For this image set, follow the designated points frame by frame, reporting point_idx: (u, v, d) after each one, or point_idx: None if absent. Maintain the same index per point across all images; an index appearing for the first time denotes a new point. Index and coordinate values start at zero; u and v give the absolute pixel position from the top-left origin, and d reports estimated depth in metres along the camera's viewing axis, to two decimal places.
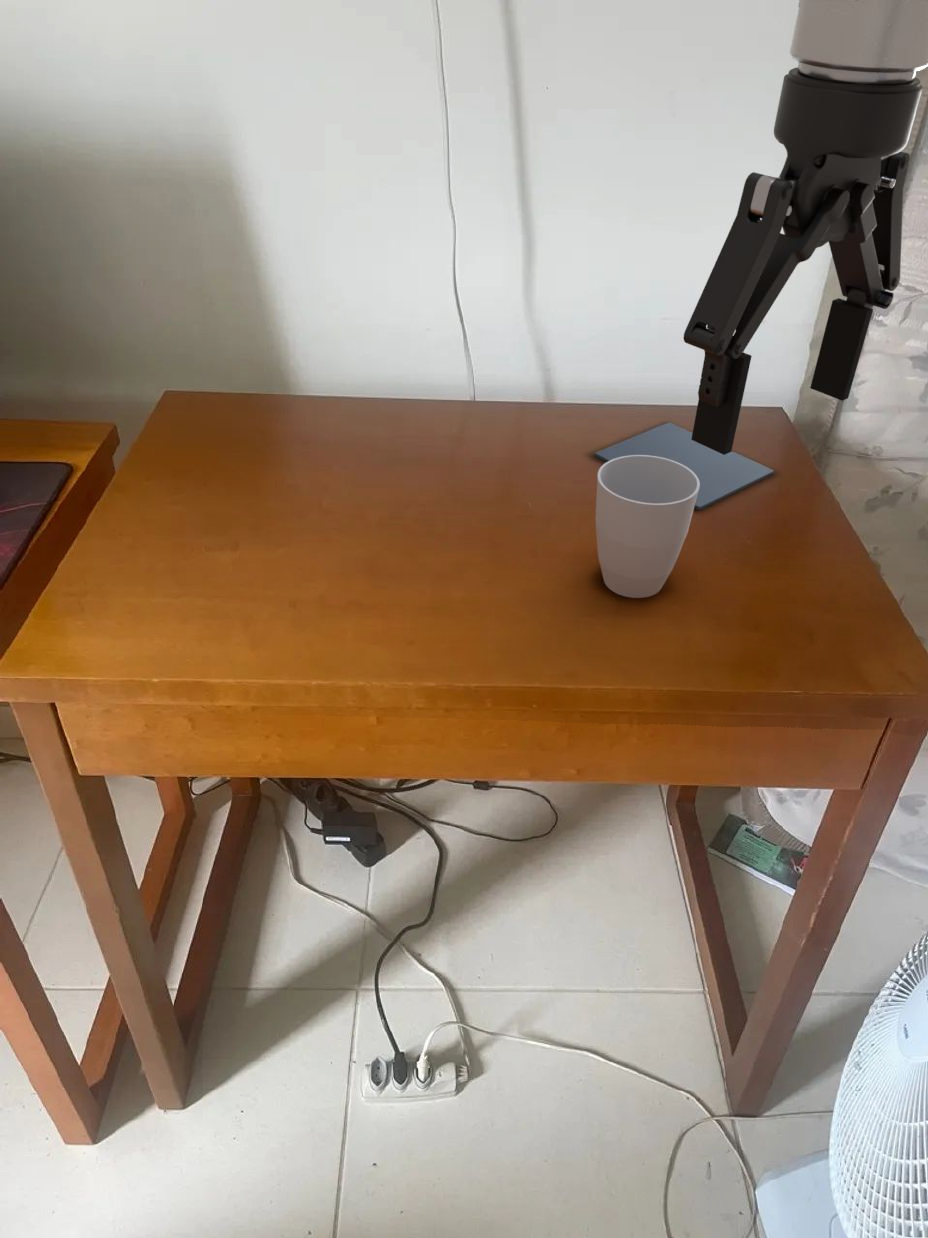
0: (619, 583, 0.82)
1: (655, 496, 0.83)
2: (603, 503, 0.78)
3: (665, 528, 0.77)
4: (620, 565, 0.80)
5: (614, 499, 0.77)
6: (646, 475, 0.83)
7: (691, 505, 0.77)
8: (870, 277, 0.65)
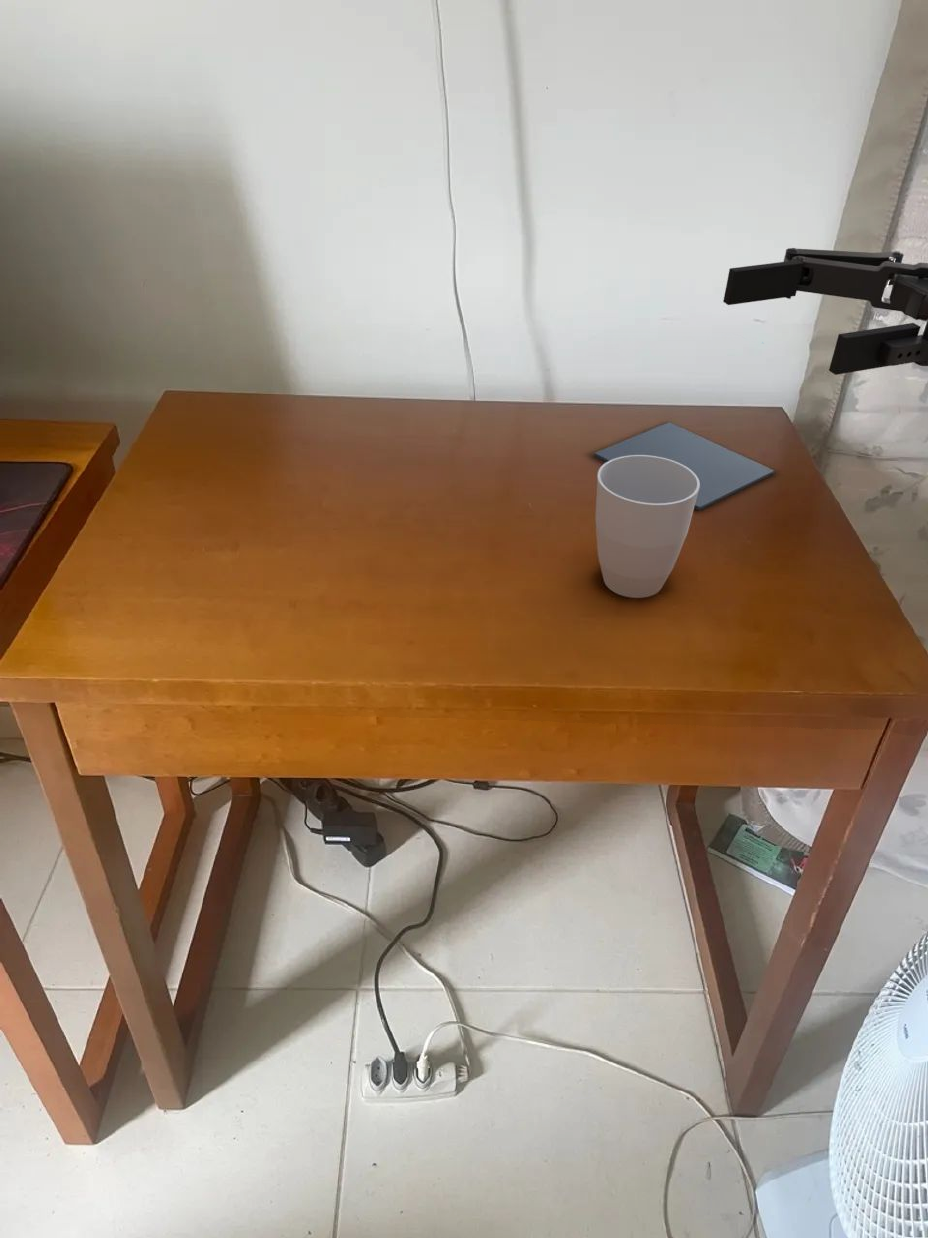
0: (619, 583, 0.82)
1: (655, 496, 0.83)
2: (603, 503, 0.78)
3: (665, 528, 0.77)
4: (620, 565, 0.80)
5: (614, 499, 0.77)
6: (646, 475, 0.83)
7: (691, 505, 0.77)
8: None
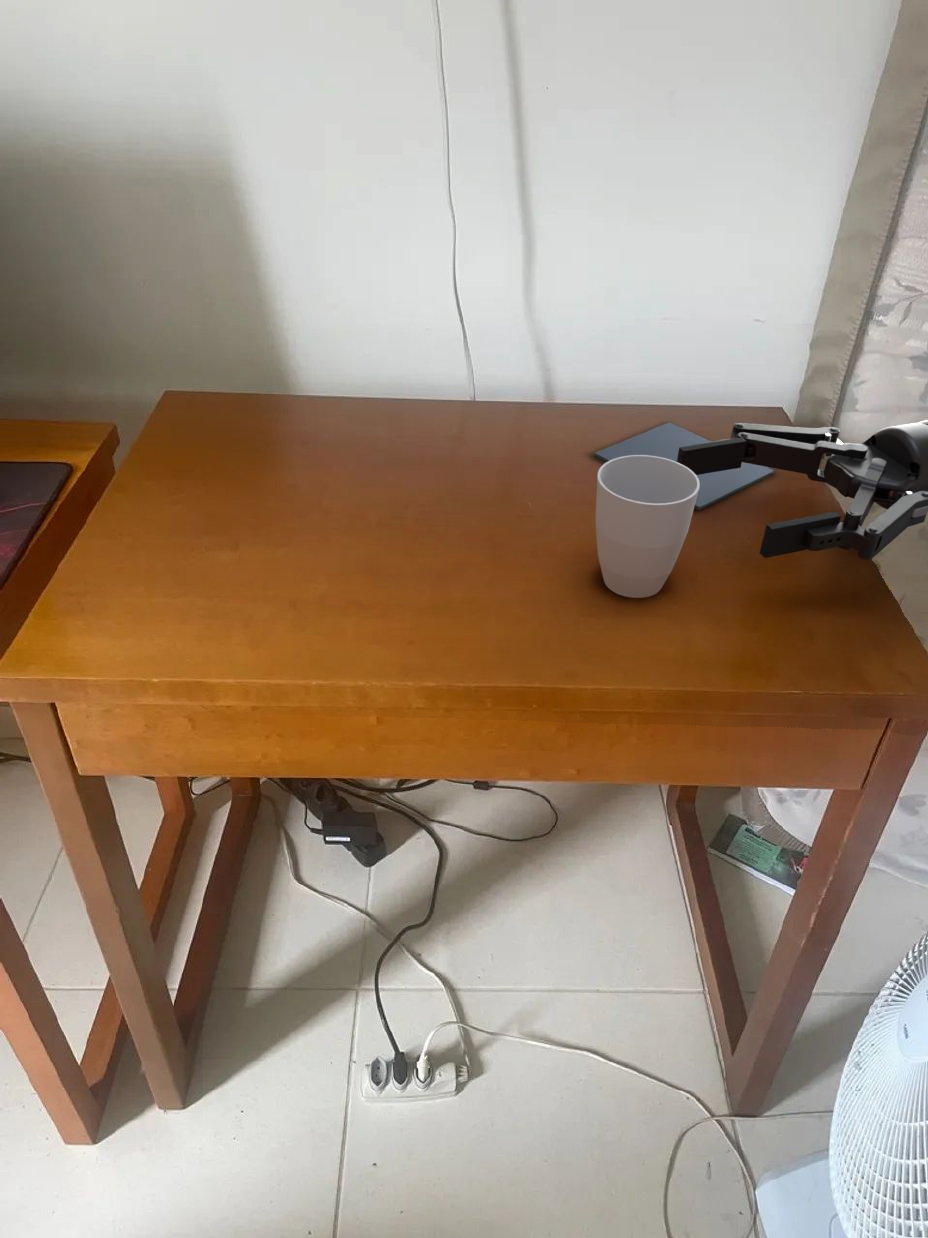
0: (619, 583, 0.82)
1: (655, 496, 0.83)
2: (603, 503, 0.78)
3: (665, 528, 0.77)
4: (620, 565, 0.80)
5: (614, 499, 0.77)
6: (646, 475, 0.83)
7: (691, 505, 0.77)
8: (854, 505, 0.80)
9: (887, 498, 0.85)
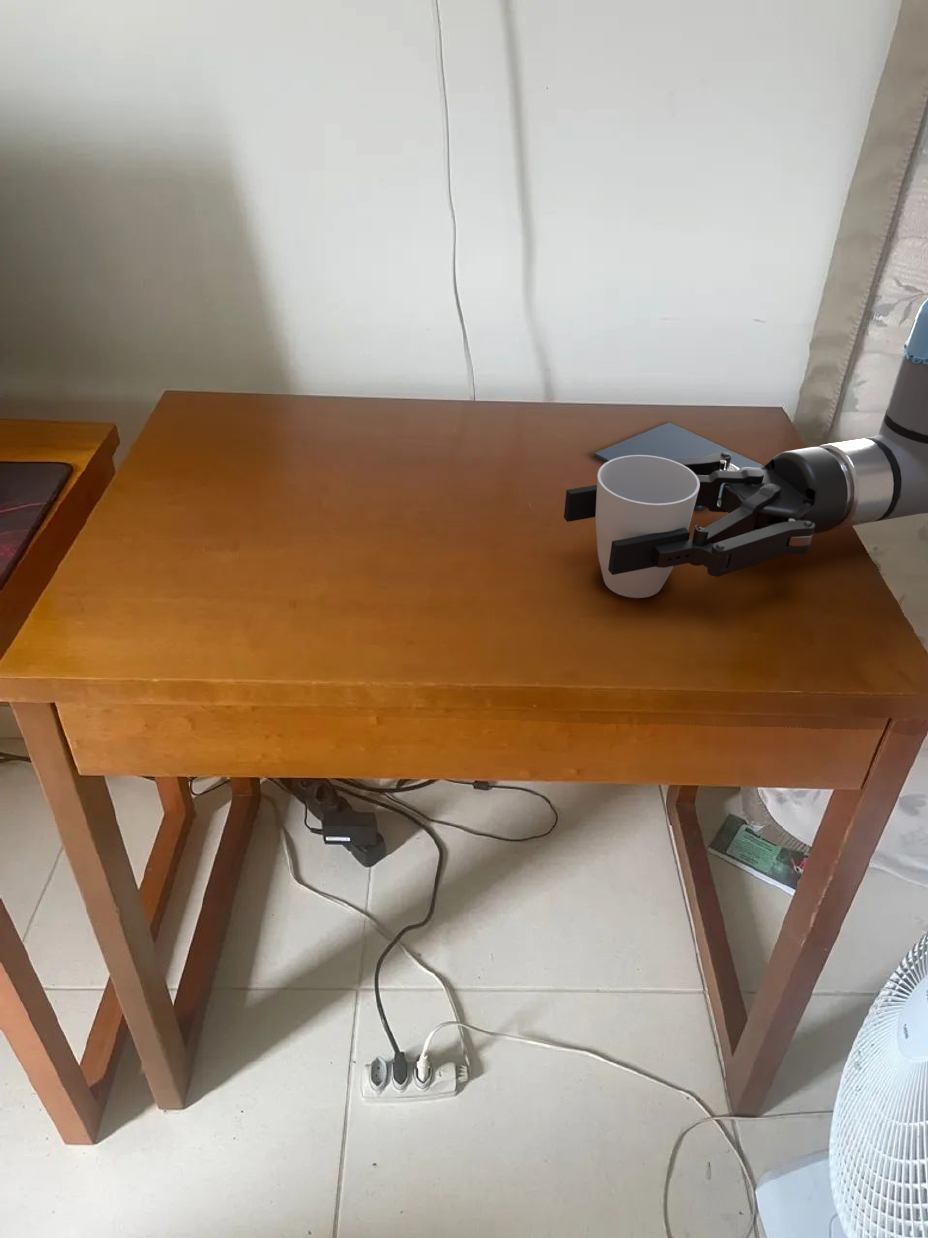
0: (619, 583, 0.82)
1: (655, 496, 0.83)
2: (603, 503, 0.78)
3: (665, 528, 0.77)
4: None
5: (614, 499, 0.77)
6: (646, 475, 0.83)
7: (691, 505, 0.77)
8: (716, 523, 0.79)
9: None
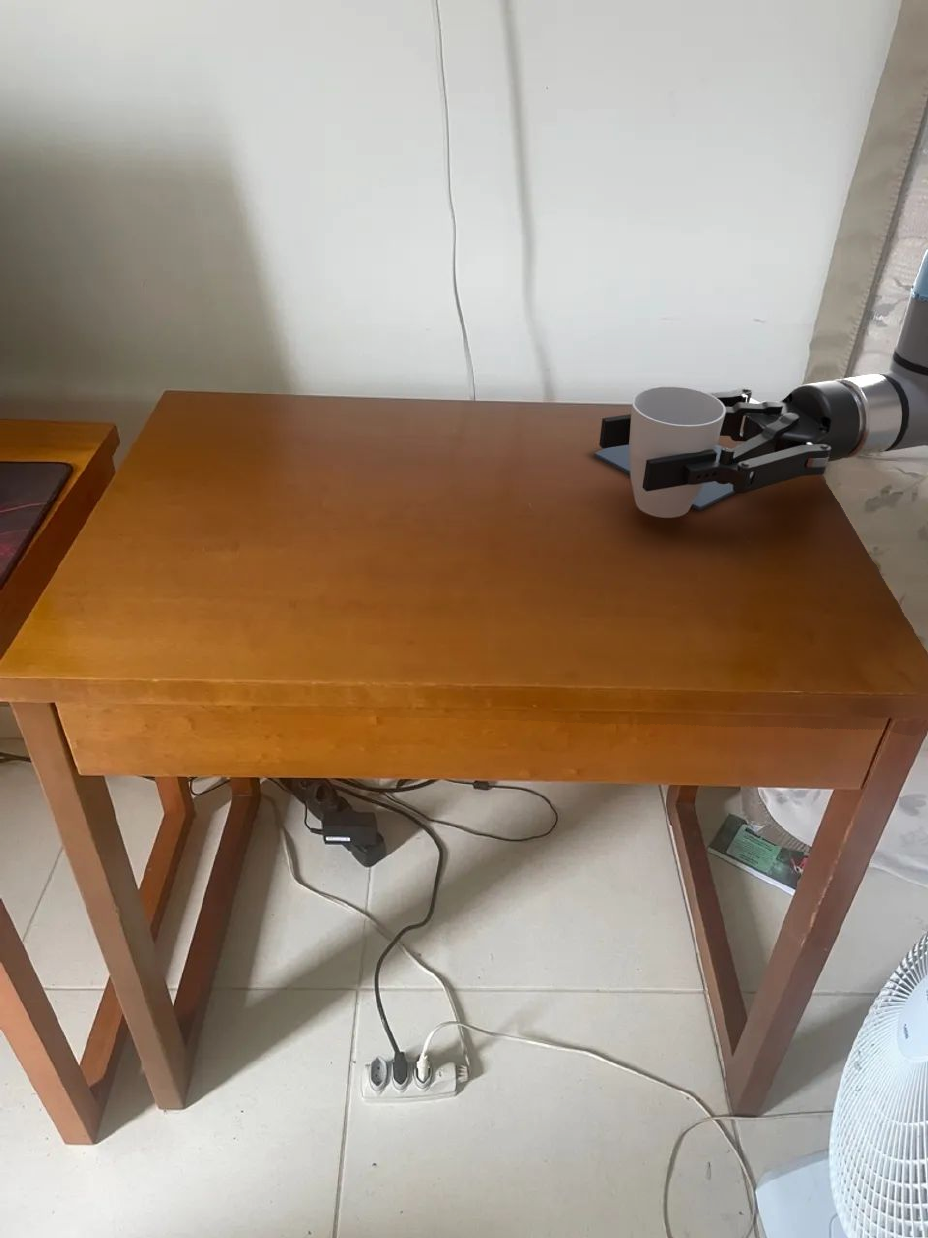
0: (651, 503, 0.89)
1: (683, 425, 0.91)
2: (638, 427, 0.86)
3: (694, 448, 0.84)
4: None
5: (648, 422, 0.84)
6: (675, 405, 0.90)
7: (718, 428, 0.85)
8: (740, 446, 0.86)
9: None
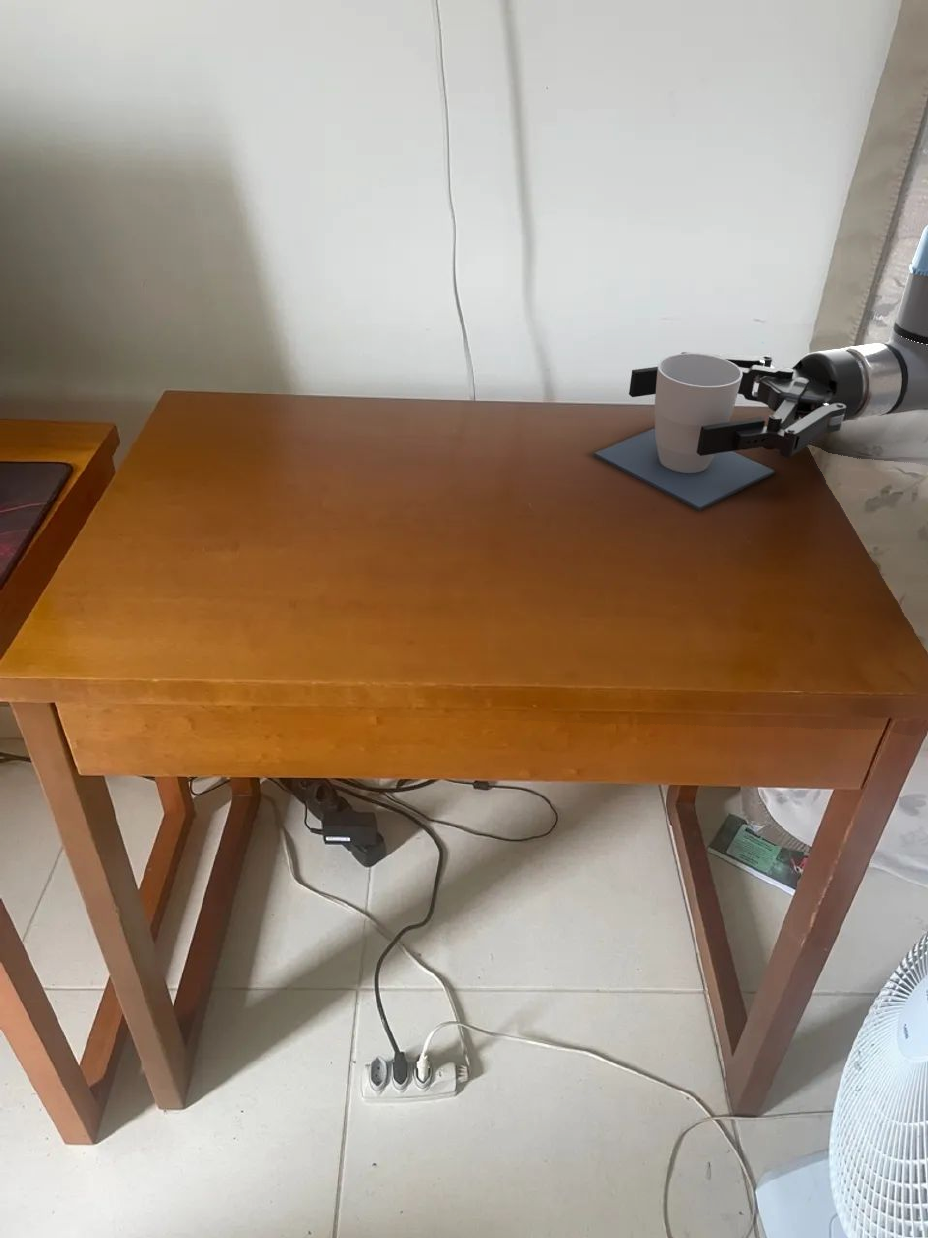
0: (674, 459, 0.99)
1: None
2: (663, 389, 0.95)
3: (714, 408, 0.94)
4: (676, 442, 0.97)
5: (673, 384, 0.94)
6: (696, 371, 0.99)
7: (736, 389, 0.94)
8: (777, 412, 0.94)
9: (809, 411, 0.99)
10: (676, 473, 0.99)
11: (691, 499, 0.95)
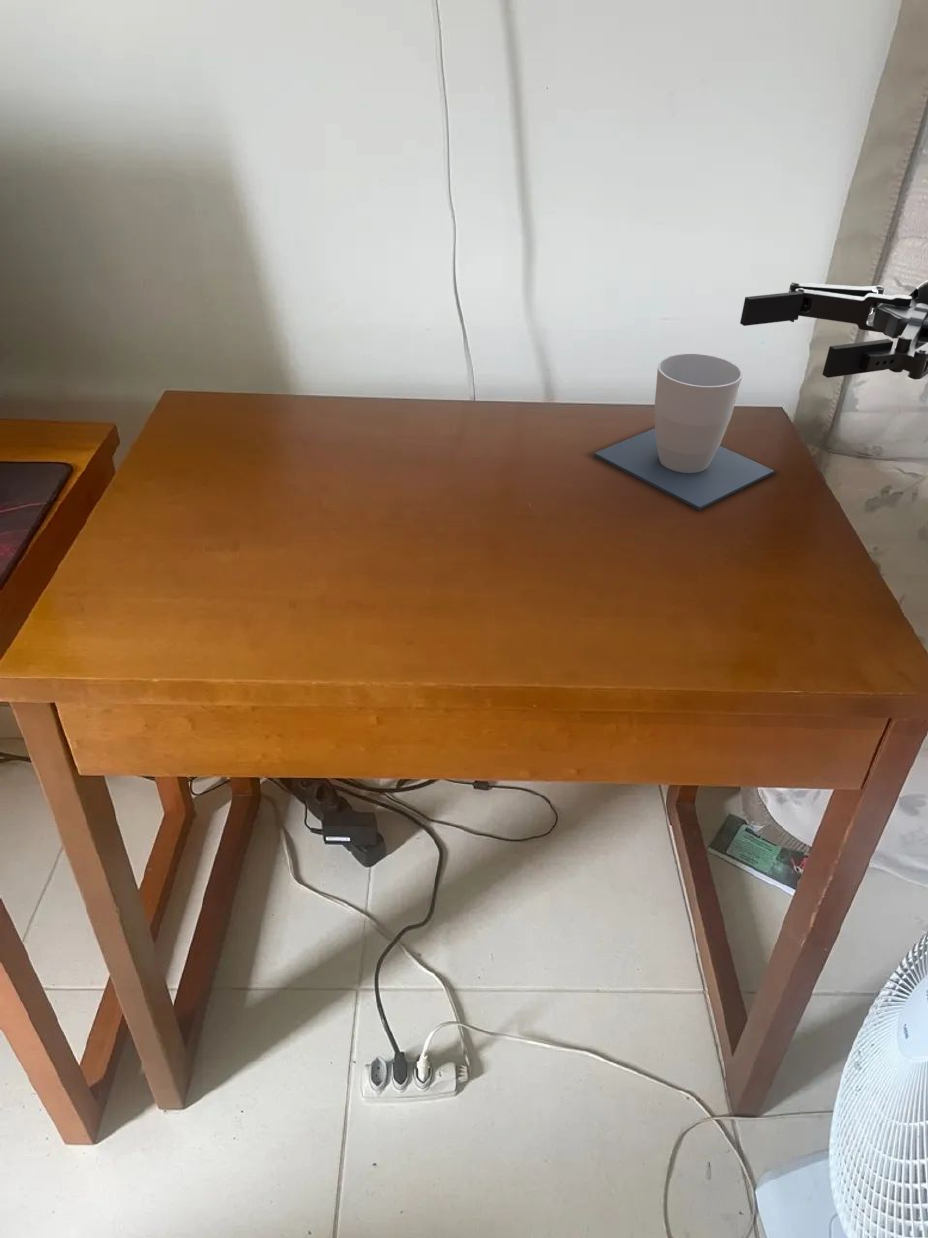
0: (674, 459, 0.99)
1: None
2: (663, 389, 0.95)
3: (714, 408, 0.94)
4: (676, 442, 0.97)
5: (673, 384, 0.94)
6: (696, 371, 0.99)
7: (736, 389, 0.94)
8: (904, 335, 0.92)
9: None
10: (676, 473, 0.99)
11: (691, 499, 0.95)
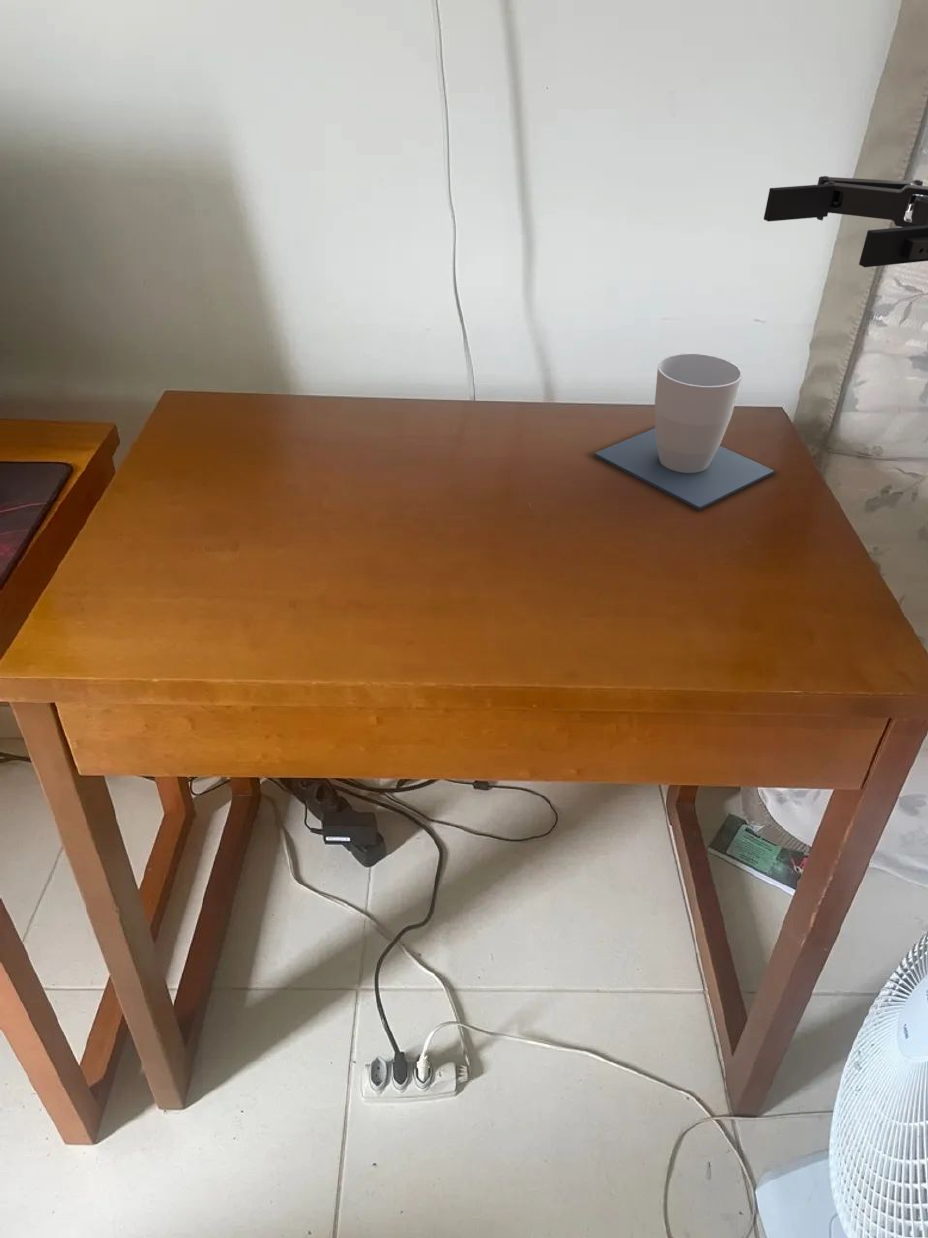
0: (674, 459, 0.99)
1: None
2: (663, 389, 0.95)
3: (714, 408, 0.94)
4: (676, 442, 0.97)
5: (673, 384, 0.94)
6: (696, 371, 0.99)
7: (736, 389, 0.94)
8: None
9: None
10: (676, 473, 0.99)
11: (691, 499, 0.95)
